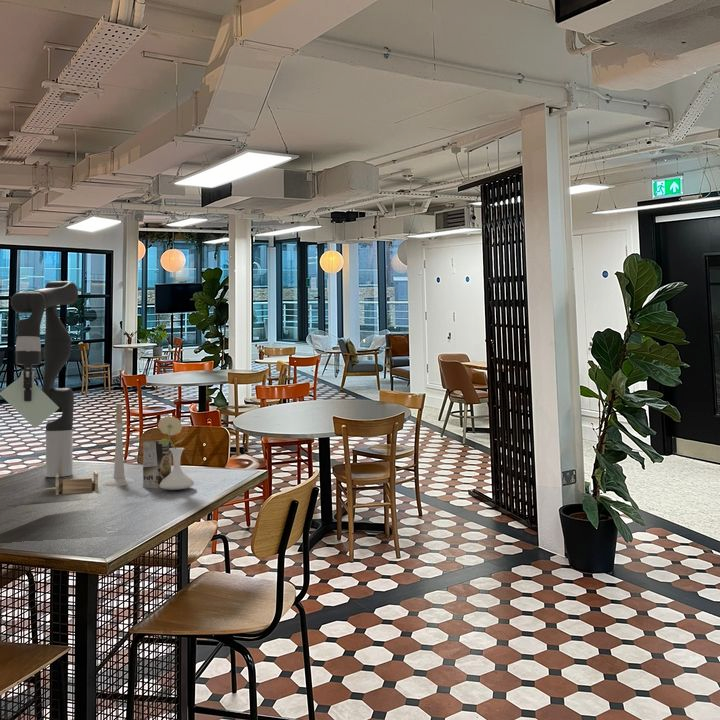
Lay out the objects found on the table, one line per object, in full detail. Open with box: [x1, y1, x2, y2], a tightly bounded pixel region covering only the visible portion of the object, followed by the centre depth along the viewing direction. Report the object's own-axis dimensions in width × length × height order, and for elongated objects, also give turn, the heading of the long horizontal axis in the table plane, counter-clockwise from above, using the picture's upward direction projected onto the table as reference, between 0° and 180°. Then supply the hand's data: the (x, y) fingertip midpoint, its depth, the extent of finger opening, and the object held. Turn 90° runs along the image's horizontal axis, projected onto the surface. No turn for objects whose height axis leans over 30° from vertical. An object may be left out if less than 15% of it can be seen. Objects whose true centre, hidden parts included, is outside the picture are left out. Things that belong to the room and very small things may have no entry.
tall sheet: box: [0, 375, 59, 429], centre depth 212 cm, size 3×10×16 cm
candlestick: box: [101, 403, 136, 487], centre depth 227 cm, size 13×13×30 cm
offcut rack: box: [55, 470, 99, 496], centre depth 213 cm, size 10×13×6 cm
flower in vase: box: [157, 415, 195, 491], centre depth 213 cm, size 13×11×25 cm
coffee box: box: [142, 439, 172, 489], centre depth 222 cm, size 9×6×16 cm
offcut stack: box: [61, 477, 93, 495], centre depth 212 cm, size 4×9×4 cm, turn 117°
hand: (27, 401), depth 212 cm, fingers closed on tall sheet, 3 cm apart
